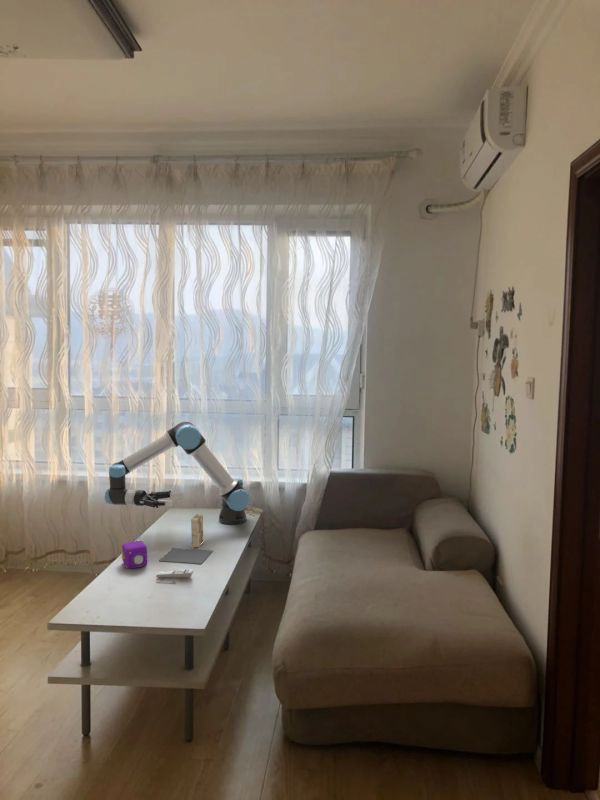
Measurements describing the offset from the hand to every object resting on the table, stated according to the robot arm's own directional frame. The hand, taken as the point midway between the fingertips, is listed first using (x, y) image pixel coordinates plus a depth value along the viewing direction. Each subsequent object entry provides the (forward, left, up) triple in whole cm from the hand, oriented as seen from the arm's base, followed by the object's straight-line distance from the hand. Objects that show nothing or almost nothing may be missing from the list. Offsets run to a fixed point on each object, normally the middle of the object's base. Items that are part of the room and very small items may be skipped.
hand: (177, 499), depth 281 cm
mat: (+15, +10, -22) cm, 28 cm away
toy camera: (+29, -8, -22) cm, 38 cm away
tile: (0, +10, -22) cm, 24 cm away
